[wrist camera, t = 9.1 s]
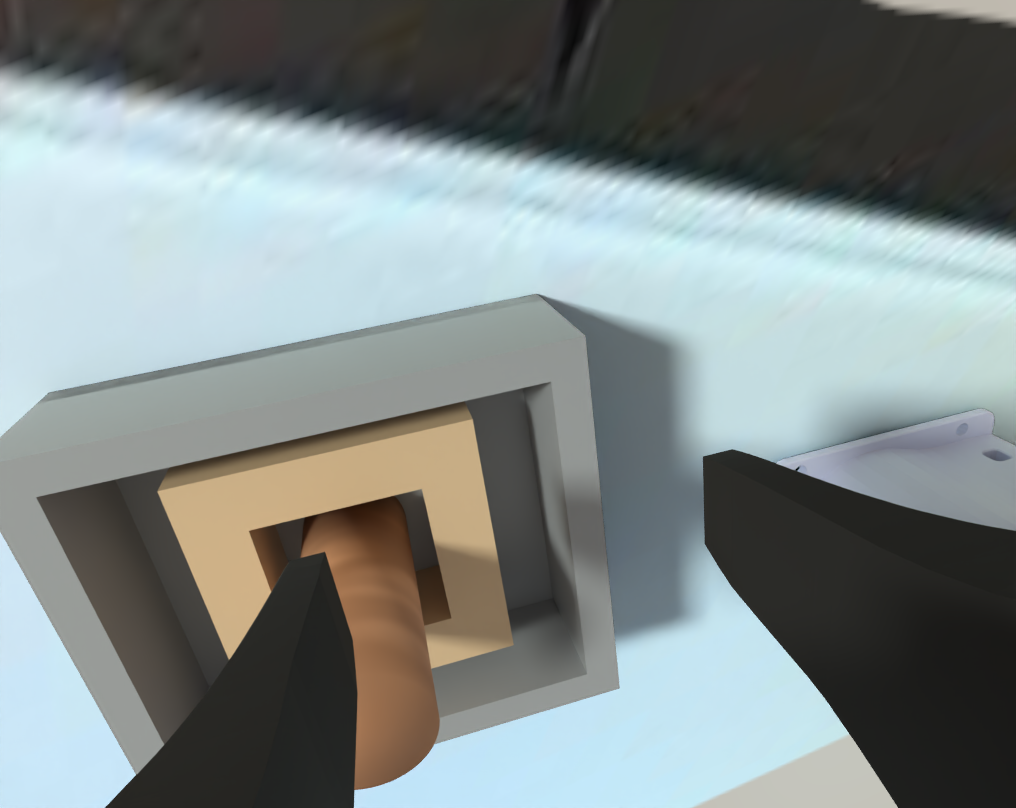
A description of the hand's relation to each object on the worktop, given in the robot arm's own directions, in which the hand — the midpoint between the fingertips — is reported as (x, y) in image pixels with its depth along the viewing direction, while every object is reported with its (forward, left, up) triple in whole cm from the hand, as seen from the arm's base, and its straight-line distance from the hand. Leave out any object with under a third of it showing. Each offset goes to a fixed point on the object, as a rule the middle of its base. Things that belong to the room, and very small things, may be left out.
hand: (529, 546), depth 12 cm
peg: (+4, +4, -9) cm, 10 cm away
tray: (+4, +4, -9) cm, 11 cm away
